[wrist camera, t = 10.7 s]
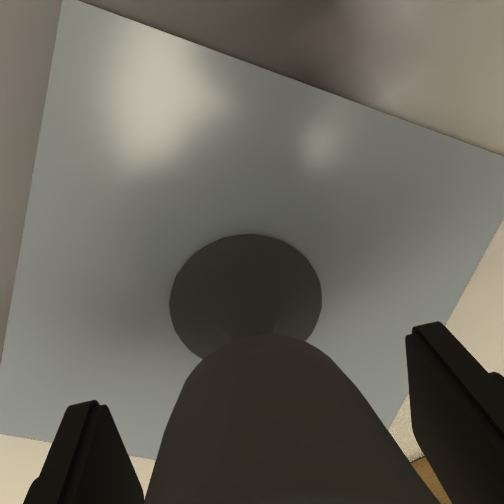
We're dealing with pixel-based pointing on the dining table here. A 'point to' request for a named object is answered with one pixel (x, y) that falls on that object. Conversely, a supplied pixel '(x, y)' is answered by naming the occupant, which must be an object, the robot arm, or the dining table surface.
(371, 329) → the plate
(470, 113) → the dining table surface
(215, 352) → the sundae
